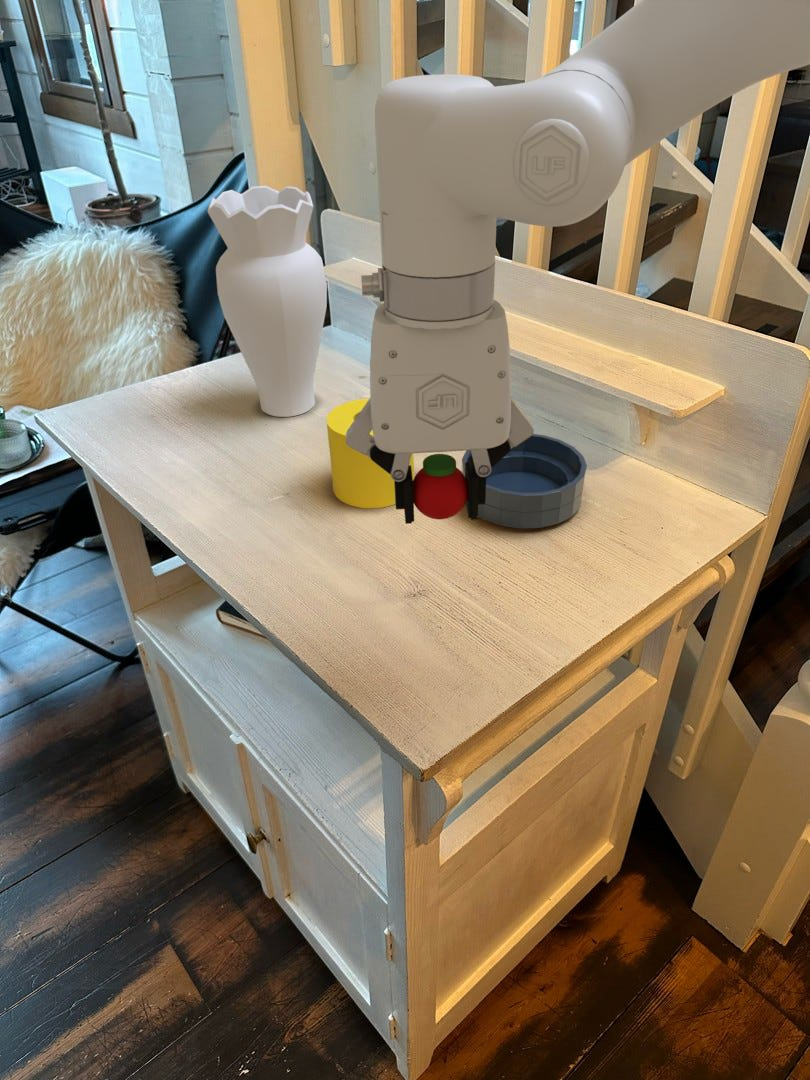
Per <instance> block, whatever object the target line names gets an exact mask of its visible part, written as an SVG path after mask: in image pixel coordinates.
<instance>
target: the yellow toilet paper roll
mask: <svg viewBox="0 0 810 1080" xmlns="http://www.w3.org/2000/svg"><path fill="white" fill-rule="evenodd" d="M369 399H370V397H369V398H360V399H359V398H358V399H355V400H350V401H347V402H344V403H341V404H339V405H338V406H335V407H334V408H332V409H331V410H330V411H329V412H328V414H327V416H326V426H327V427H326V428H327V438H328V447H329V449H328V450H329V458H330V459H329V460H330V468H331V477H332V487H333V488H332V489H333V493H334V495H335V496H336V498H337V499H338V500H339V501H341V502H342V503H344V504H346V505H349V506H351V507H354V508H360V509H381V508H387V507H391V506H394V505H396V503H395V483H394V480H393V479H392V478H391V475H390V474H389V473H388V472H386V471H385V470H384V469H383V468H381V467H380V466H379V465H377V464H376V463H375V462H373V461H372V460H371V458H370V457H369V456H367V455H363V454H362V453H360V452H358V451H356V450H355V449H353V448H351V447H349V446H348V445H347V444H346V432H347V430H348V429H349V427H350V426H351V425H352V423H353V422H354V420H355V419H356V417H357V416H358V415H359V413H360V412H361V410H362V409H363V407H364V406H365V405H366V403H367V402H368V400H369ZM369 434H370V435H372V436H373V430H371V432H370V433H369ZM373 437H374V436H373ZM414 459H415V458H414V453H412V454H411V458H410V463H409V465H411V469H412V478H413V480H414V477H415V463H414V462H415V461H414Z"/></svg>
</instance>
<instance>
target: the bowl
mask: <svg viewBox="0 0 810 1080" xmlns="http://www.w3.org/2000/svg"><path fill="white" fill-rule="evenodd" d="M471 455H472V454H471V450H465V452H464V454H463V456H462V458H461V472H462V473H463V475H464V476H465V462H467V459H469V457H470V456H471ZM587 468H588V464H587V462H586V459H585V457H584V455H583V454H582V453H581V452H580V451H579V449H577V448H575V446H573V445H571V444H569V443H567V442H565V441H564V440H561V439H559V438H555V437H551V436H548V435H544V434H538V433H533V435H532V436H531V437H529V438H528V439H526V440H525V441H523V442H522V443H520V444H519V445H517V446H516V447H513V448H511V449H510V452H509V453H508V454H507V455H506V456H505V457H503V458H502V459H501V460H500V461H499V462H498V463H497V464H496V465H494V466H493V467H492V468H491V470H492V471H491V473H490V474H489V475H488V476H486V500H485V504H484V505H478V518H480V519H481V520H484V521H486V522H489V523H492V524H495V525H498V526H501V527H507V528H514V529H541V528H545V527H546V528H547V527H550V526H554V525H558V524H561V523H562V522H564V521H567V520H568V519H570V518H572V517H574V515H575V514H576V513H577V512H578V511H579V510H580V509H581V507H582V503H583V499H584V493H585V492H584V491H585V485H586V478H587V470H588V469H587ZM464 506H466V504H465V505H464Z"/></svg>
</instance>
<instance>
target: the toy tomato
mask: <svg viewBox="0 0 810 1080" xmlns="http://www.w3.org/2000/svg"><path fill="white" fill-rule="evenodd" d="M413 495H414V507H415V508H416V509H417V510H418V511H419V512H420V513H421V514H422V515H424V516H425V517H428V518H430V519H432V520H447V519H450V518H452V517H454V516H456V515H457V514H458V513H460V512H461V511H462V509H463V508H464V507H465V506H466V505H465V503H466V501H467V498H468V485H467V481H466V478H465V476H464V475H463V473H462V470H460V469H459V468H458V467H457V460H456V458H455V457H453V456H452V455H449V454H445V453H434V454H429V455H428V456H426V457H425V458H424V459H423V460H422V468H421V469H419V470H418V471H417V472H416V474H415V475H414V480H413Z"/></svg>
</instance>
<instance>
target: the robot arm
mask: <svg viewBox="0 0 810 1080" xmlns="http://www.w3.org/2000/svg"><path fill="white" fill-rule="evenodd" d="M807 66H810V0H640V1H639V2H638V3H636V4H635V5H634V6H632V7H631V8H630V9H628V10H627V11H626V12H625V13H624V14H622V15H620V17H619V18H617V19H616V20H615V21H613V22H612V23H611V24H610V25H608V26H607V27H606V28H604V29H603V30H602V31H601V32H600V33H598V34H597V35H596V36H595V37H593V38H592V39H591V40H589V41H588V42H587V43H586V44H584V45H583V46H582V47H581V48H579V49H578V50H577V51H576V52H574V53H572V54H571V55H570V56H569V57H568V58H567V59H565V60H564V61H562V62H561V63H560V64H559V65H558V66H556V67H555V68H553V69H552V70H550V71H549V72H546V73H545V74H544V75H542V76H541V77H539V78H536V79H534V80H531V81H526V82H520V83H515V84H514V83H513V84H506V85H497V86H495V85H494V84H493V83H491V82H490V81H489V80H488V79H485V78H483V77H480V76H476V75H470V74H460V73H459V74H455V73H453V74H452V73H450V74H447V73H444V74H443V73H442V74H440V73H439V74H422V75H421V74H420V75H412V76H406V77H401V78H397V79H394V80H391V81H389V82H388V83H386V84H385V85H384V86H383V87H382V88H381V89H380V91H379V93H378V95H377V97H376V101H375V106H374V130H375V132H374V133H375V151H376V152H375V153H376V170H377V172H376V173H377V191H378V209H379V229H380V230H379V231H380V247H381V248H380V252H381V267H378V268H377V272H372V274H367V275H366V274H365V275H361V276H360V277H361V293H362V297H366V296H373V298H379V302H381V304H380V305H378V306H377V307H376V309H375V310H374V311H375V312H374V316H373V321H372V329H371V337H370V358H369V394H370V395H369V396H370V397H369V398H370V399H369V400H368V402H367V403H366V405H365V406H364V407H363V409H362V410H361V412H360V413H359V415H358V416H357V417H356V419H355V420H354V422H353V423H352V425H351V426H350V427H349V429H348V430H347V432H346V444H347V445H348V446H349V447H351V448H353V449H355V450H356V451H358V452H360V453H362V454H363V455H367V456H369V457H370V458H371V460H372V461H373V462H375V463H376V464H377V465H379V466H380V467H381V468H383V469H384V470H385V471H386V472H388V473H389V474H390V475H391V478H392V479H393V480H394V483H395V503H396V504H395V510H403V511H404V522H405V524H406V525H408V524H412V523H414V522H415V504H414V495H413V478H412V469H411V465H409V463H410V458H411V454H412V453H413V454H427V453H428V454H429V453H448V452H462V451H465V452H466V450H471V454H472V455H471V456H470V457H469V459H467V462H465V478H466V481H467V485H468V498H467V501H466V503H465V504H466V505H465V509H466V513H467V519H470V520H471V521H476V520H477V521H478V520H479V517H478V505H484V504H485V500H486V476H488V475H489V474H490V473H491V471H492V470H491V468H492V467H493V466H494V465H496V464H497V463H498V462H499V461H500V460H501V459H502V458H503V457H505V456H506V455H507V454H508V453H509V452H510V449H511V448H513V447H516V446H517V445H519V444H520V443H522V442H523V441H525V440H526V439H528V438H529V437H531V436H532V435H533V434H535V432H534V431H535V429H534V428H533V424H532V422H531V421H530V419H529V418H528V416H527V415H526V414H525V412H524V411H523V410H522V408H520V406H519V405H518V403H517V402H516V401H515V400H514V398H513V397H512V374H511V373H512V371H511V349H510V336H509V327H508V321H507V315H506V310H505V308H504V307H503V306H502V305H501V303H499V302H498V301H497V300H495V276H496V275H495V272H496V248H497V247H496V246H497V245H496V242H497V220H498V219H497V218H499V219H503V220H507V221H508V220H509V221H512V222H517V223H521V224H526V225H531V226H537V227H548V228H549V227H550V228H551V227H556V228H557V227H564V226H565V227H566V226H569V225H573V224H576V223H579V222H581V221H583V220H585V219H587V218H589V217H590V216H593V215H594V214H595V213H596V212H597V211H598V210H600V209H601V208H602V207H603V206H604V205H605V203H607V202H608V200H609V199H610V198H611V196H613V194H614V192H615V190H616V189H617V187H618V185H619V183H620V181H621V178H622V176H623V173H624V170H625V167H626V166H628V164H630V163H631V162H632V161H634V160H635V159H637V158H638V157H640V156H641V155H642V154H644V153H645V152H647V151H648V150H650V149H651V148H653V147H654V146H656V145H657V144H658V143H660V142H662V141H663V140H664V139H666V138H667V137H669V136H670V135H671V134H674V133H675V132H676V131H678V130H679V129H681V128H683V127H684V126H685V125H687V124H688V123H690V122H691V121H693V120H695V119H696V118H697V117H699V116H700V115H702V114H703V113H706V112H707V111H708V110H710V109H712V108H713V107H715V106H716V105H718V104H720V103H722V102H723V101H725V100H726V99H728V98H730V97H732V96H734V95H736V94H737V93H739V92H741V91H743V90H745V89H747V88H749V87H751V86H753V85H755V84H757V83H760V82H762V81H764V80H767V79H769V78H772V77H775V76H777V75H780V74H783V73H787V72H789V71H790V72H791V71H794V70H797V69H799V68H804V67H807ZM371 430H373V436H374V437H373V436H372V435H370V434H369V433H370V432H371Z"/></svg>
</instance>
